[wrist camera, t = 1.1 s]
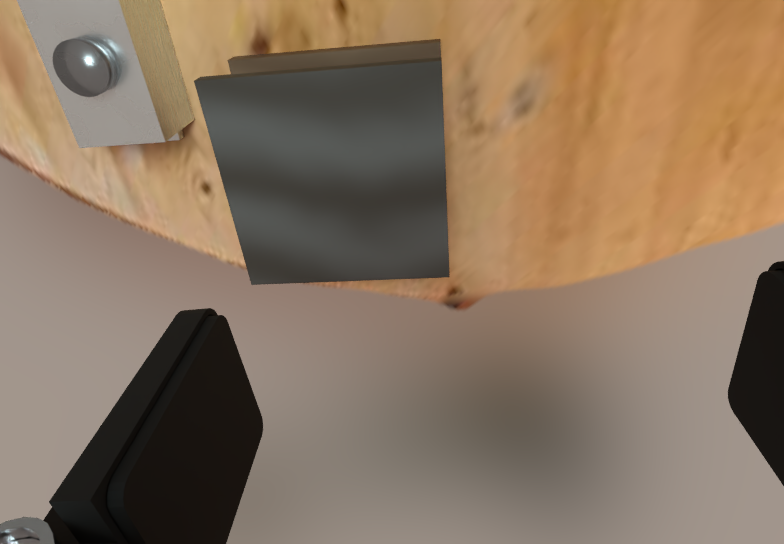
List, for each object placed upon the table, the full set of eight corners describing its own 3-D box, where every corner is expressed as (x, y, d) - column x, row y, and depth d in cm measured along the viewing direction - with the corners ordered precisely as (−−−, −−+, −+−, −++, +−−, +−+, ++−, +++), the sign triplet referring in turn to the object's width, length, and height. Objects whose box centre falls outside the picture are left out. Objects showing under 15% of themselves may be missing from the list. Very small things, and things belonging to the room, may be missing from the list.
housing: (51, -52, 33) (-21, -50, 28) (141, -63, 32) (85, -62, 27) (123, 140, 39) (76, 172, 34) (199, 135, 39) (163, 166, 34)
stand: (233, 56, 36) (194, 80, 30) (440, 39, 34) (441, 60, 28) (276, 237, 43) (251, 284, 37) (447, 228, 42) (449, 277, 36)
